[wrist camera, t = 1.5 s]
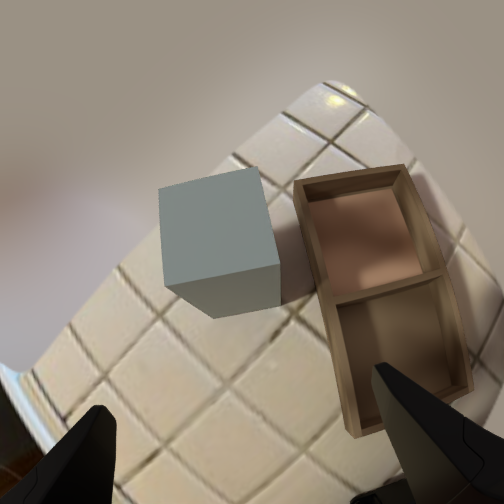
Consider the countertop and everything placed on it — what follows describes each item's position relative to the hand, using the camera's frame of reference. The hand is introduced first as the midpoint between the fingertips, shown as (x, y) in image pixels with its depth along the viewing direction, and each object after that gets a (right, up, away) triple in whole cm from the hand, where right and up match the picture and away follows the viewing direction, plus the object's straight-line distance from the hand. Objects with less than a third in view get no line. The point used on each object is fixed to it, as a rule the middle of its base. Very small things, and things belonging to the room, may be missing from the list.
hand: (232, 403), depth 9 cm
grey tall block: (0, +3, +14) cm, 15 cm away
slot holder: (+10, +1, +13) cm, 16 cm away
